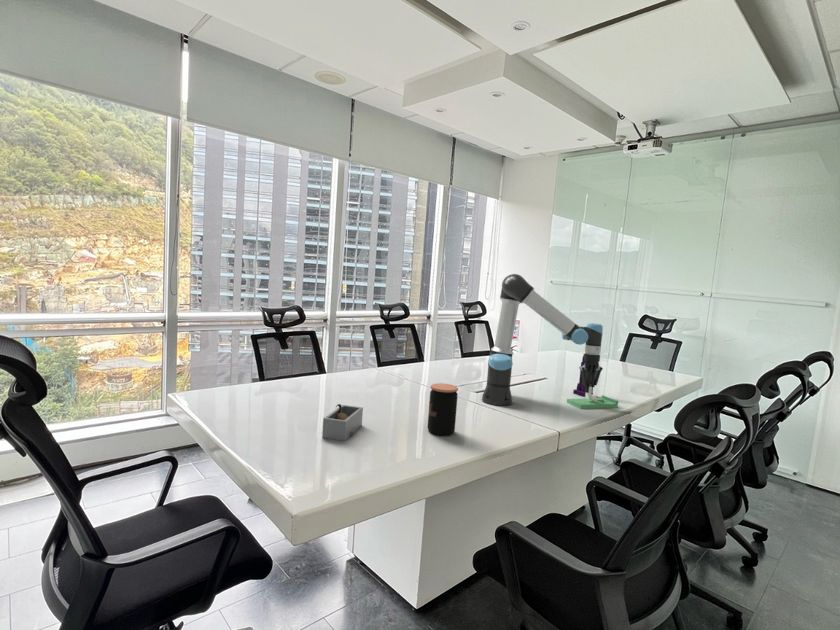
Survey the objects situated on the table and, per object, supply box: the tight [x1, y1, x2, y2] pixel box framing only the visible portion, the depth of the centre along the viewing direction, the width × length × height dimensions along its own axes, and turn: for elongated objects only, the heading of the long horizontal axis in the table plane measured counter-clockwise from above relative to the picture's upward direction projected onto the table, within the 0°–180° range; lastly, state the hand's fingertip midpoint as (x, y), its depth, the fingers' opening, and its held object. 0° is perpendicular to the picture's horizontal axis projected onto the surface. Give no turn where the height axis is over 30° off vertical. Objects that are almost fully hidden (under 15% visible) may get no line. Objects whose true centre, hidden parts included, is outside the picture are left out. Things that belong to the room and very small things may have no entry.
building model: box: [572, 351, 594, 398], centre depth 253 cm, size 9×6×30 cm
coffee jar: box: [427, 382, 459, 437], centre depth 175 cm, size 11×11×18 cm
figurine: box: [335, 403, 354, 436], centre depth 168 cm, size 14×4×9 cm, turn 30°
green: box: [566, 394, 619, 410], centre depth 233 cm, size 23×11×4 cm, turn 108°
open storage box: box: [321, 404, 364, 442], centre depth 168 cm, size 8×18×7 cm, turn 168°
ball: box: [590, 394, 597, 402], centre depth 233 cm, size 4×4×4 cm
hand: (588, 398), depth 232 cm, fingers closed
